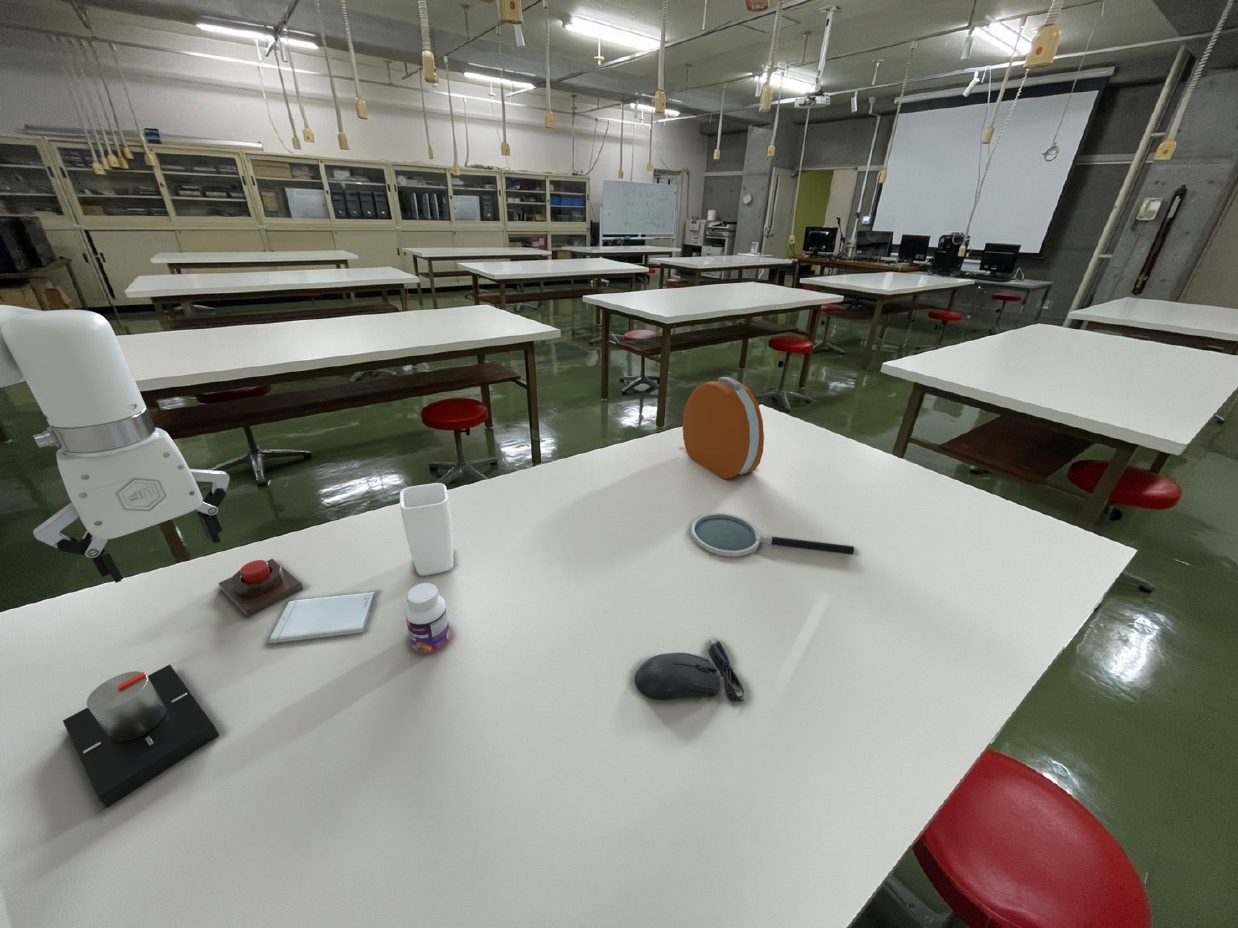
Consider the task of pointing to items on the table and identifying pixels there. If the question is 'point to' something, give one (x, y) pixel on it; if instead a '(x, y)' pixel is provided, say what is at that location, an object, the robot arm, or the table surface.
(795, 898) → the table surface
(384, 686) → the table surface
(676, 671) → the computer mouse
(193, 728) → the rotary dial switch
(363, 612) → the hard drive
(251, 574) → the button
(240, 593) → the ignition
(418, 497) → the cup
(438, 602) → the pill bottle
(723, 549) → the magnifying glass
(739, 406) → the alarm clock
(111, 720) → the knob
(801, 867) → the table surface
